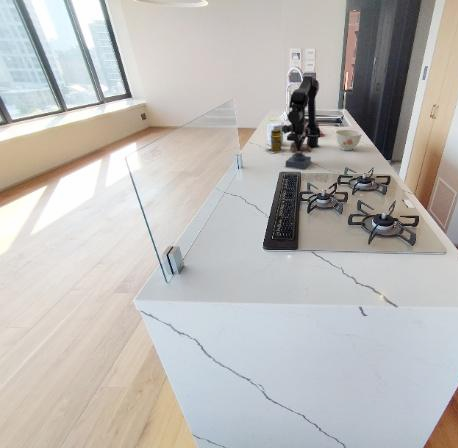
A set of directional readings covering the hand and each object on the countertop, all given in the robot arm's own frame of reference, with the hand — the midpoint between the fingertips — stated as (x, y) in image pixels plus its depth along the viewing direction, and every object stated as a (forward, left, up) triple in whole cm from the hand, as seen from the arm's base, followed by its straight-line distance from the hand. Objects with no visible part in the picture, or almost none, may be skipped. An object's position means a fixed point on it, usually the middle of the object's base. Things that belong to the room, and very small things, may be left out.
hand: (298, 150), depth 149 cm
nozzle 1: (-14, -21, -3) cm, 25 cm away
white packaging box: (-9, -39, -8) cm, 41 cm away
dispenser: (0, 0, -8) cm, 8 cm away
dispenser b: (-15, -20, -8) cm, 27 cm away
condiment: (-2, -28, -8) cm, 29 cm away
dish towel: (-47, -53, -8) cm, 71 cm away
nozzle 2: (0, 0, -3) cm, 3 cm away
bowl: (-42, -7, -8) cm, 43 cm away
